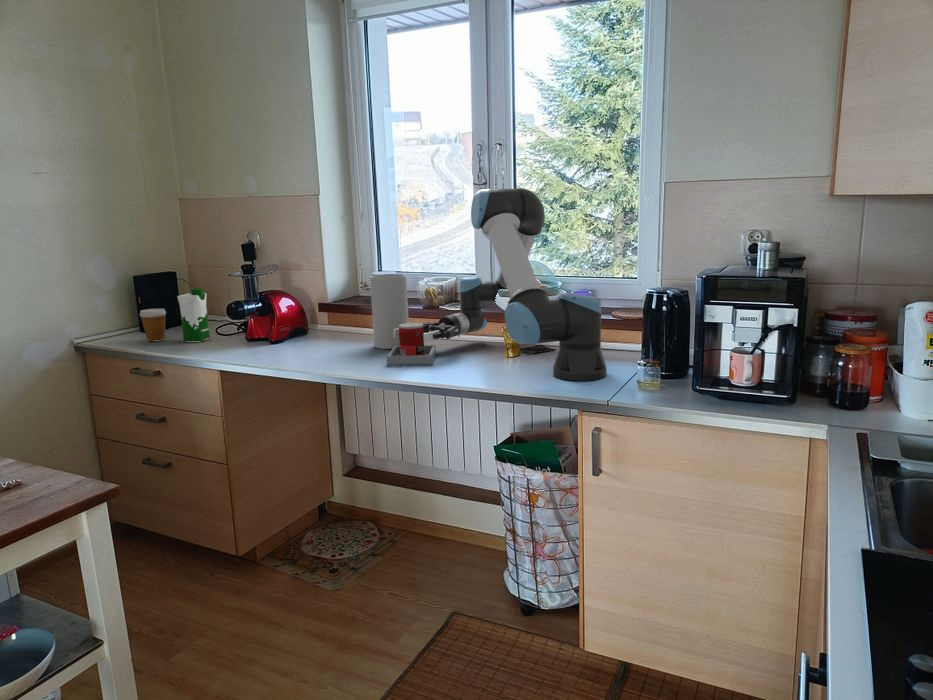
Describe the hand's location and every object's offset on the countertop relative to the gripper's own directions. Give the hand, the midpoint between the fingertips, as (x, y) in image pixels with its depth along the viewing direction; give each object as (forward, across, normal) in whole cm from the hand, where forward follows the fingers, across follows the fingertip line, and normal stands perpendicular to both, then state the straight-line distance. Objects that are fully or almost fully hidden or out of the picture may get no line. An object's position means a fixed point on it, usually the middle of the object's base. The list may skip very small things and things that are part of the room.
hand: (409, 335), depth 221 cm
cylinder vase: (-12, +21, -8) cm, 26 cm away
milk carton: (+22, +93, -8) cm, 96 cm away
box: (-1, 0, -8) cm, 8 cm away
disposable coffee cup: (+31, +108, -8) cm, 113 cm away
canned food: (-1, 0, -8) cm, 8 cm away
